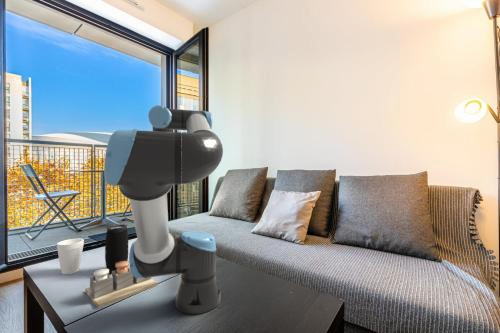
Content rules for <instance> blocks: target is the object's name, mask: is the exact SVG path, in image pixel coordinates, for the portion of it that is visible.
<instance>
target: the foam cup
mask: <svg viewBox="0 0 500 333" xmlns="http://www.w3.org/2000/svg"><path fill="white" fill-rule="evenodd" d="M84 245H85V239H84V238H79V237H78V238H69V239H65V240H61V241H59V242H57V243H56V250H57V255H58V261H59V266H60V272H61V275H71V274H74V273H77V272H79V270H80V267H81V263H82V262H81V261H82V256H83V249H84Z"/></svg>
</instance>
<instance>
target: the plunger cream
mask: <svg viewBox="0 0 500 333" xmlns="http://www.w3.org/2000/svg"><path fill="white" fill-rule="evenodd" d="M108 273H109V269H107V268H100V269H97V270H95V271H94V272H93V277H94V276H95V281H96V282H97V281H100V280H103V279H106V278H107V274H108Z"/></svg>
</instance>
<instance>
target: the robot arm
mask: <svg viewBox="0 0 500 333" xmlns="http://www.w3.org/2000/svg"><path fill="white" fill-rule="evenodd" d="M148 122H149V123H150V125H151V126H152V130H138V129H136V128H134V129H119V130H115V131H114V132H113V133H112V134H111V135H110V137H109V139H108V143H107V145H106V151H105V156H104V163H103V164H104V166H103V167H104V168H103V169H104V170H103V173H104V181H105V183H106V185H109V186H112V187H117V186H118V189H119V192H120V193H121V195H122V196H123V197H124V198H126V199H128V200H129V204H130V209H131V210H130V211H131V213H132V219H133V224H134V229H135V234H136V238H137V239H136V240H135V241H133V242H132V243H131V245H130V249H129V252H128V261H129V268H130V270H131V273H132V275H133V276H134V277H135V278H149V277H151V278H155V277H156V278H157V277H163V276H164V277H165V276H171V275H181V276H180V283H179V286H178V289H177V292H176V295H175V307H176V309H177V310H178V311H180V312H182V313H184V314H190V315H197V314H203V313H207V312H210V311H212V310H213V309H215V308H216V307H218V305H219V304H220V303H221V295H222V294H221V293H222V292H221V289H220V287H219V284H218V280H217V278H216V277H217V276H216V272H217V271H216V270H217V268H216V266H217V264H216V260H217V257H216V255H217V254H216V252H217V247H216V245H217V243H216V237H215V236H214V235H213V234H211V233H209V232H206V231H202V230H188V231H183V232H182V233H181V235H180V236H179V237H173V235H172V234H171V233H170V231H169V212H168V209H169V208H168V193H170V191H171V189H172V187H173V185H190V184H193V183H194V184H195V183H197V182H200V181H202V180H204V179H205V178H207V177H208V176H210V175H211V174H213V173H214V172H215V170H216V169H217V168H218V167H219V165H220V163H221V161H222V158H223V155H224V154H223V153H224V148H223V144H222V142H221V139H220V137H219V136H218V135H217V134H216V133H215V132H213V131H212V127H213V115H212V112H210V111H206V110H191V109H177V108H167V107H166V106H164V105H154V106H153V107H151V108H150V109H149V111H148ZM183 131H184V132H183Z"/></svg>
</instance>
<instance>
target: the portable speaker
mask: <svg viewBox="0 0 500 333" xmlns="http://www.w3.org/2000/svg"><path fill="white" fill-rule="evenodd" d="M104 241H105V243H104V248H105V249H104V260H105V269H109V274H110V275H112V271H114V270H117V268H116V263H118V262H121V261H129V234H128V225H127V224H119V225H108V226H107V227H106V234H105V239H104Z"/></svg>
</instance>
